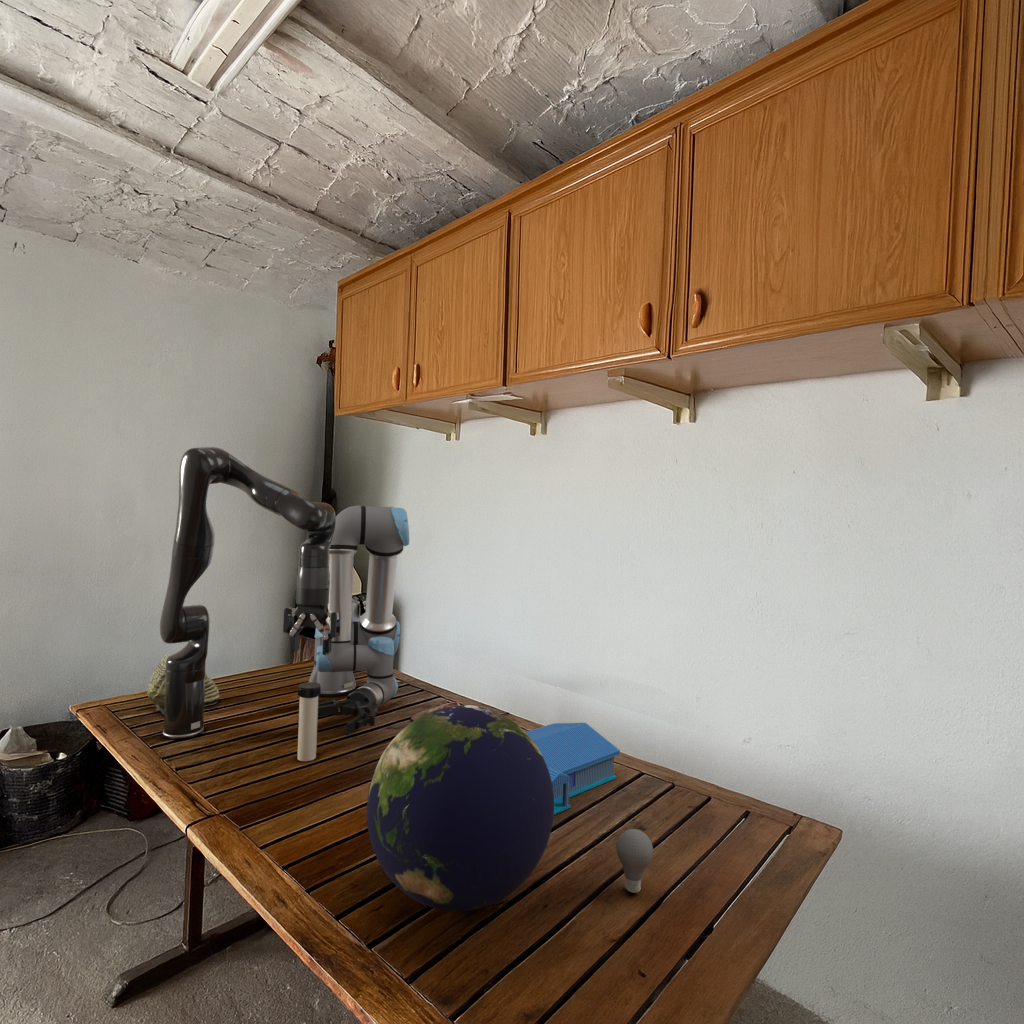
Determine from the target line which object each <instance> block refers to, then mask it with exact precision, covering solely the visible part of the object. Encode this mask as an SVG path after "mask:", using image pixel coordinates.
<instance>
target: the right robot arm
mask: <svg viewBox="0 0 1024 1024" xmlns="http://www.w3.org/2000/svg"><path fill="white" fill-rule="evenodd" d="M409 527H410V526H409V518H408V513H407V511H406V509H405V508H404V507H395V506H373V505H372V506H371V505H351V506H348V507H346V508H345V509H343V510H341V511H340V512H339V513H338V514H337V515H336V526H335V531H334V535H333V539H332V543H331V546H330V555H329V556H330V559H329V572H330V587H329V604H328V610H329V612H336V611H340V613H341V619H340V635H339V636H336V637H334V638H332V650H331V652H329V654H327V655H323V654H322V650H323V640H324V637H323V636H322V634H321V632H319V631H318V629H317V628H315V633H314V638H315V639H314V657H313V659H314V661H313V662H314V663H313V668H312V670H311V674H310V676H309V679H308V682H316V683H319V684H320V685H321V686H320V687H321V693H320V695H319V697H334V698H331V699H329V700H325V701H320V702H318V718H320V717H325V716H326V717H327V716H333V715H334V716H343V715H345V716H348V715H349V716H352V717H354V718H353V719H352V720H350V721H348V722H347V723H346V725H345V726H346V727H345V728H346V729H345V730H346V731H345V735H346V736H347V735H348V736H350V735H351V734H353V733H354V732H355V731H356V730H359V729H361V728H363V727H367V726H368V725H369V726H370V727H375V725H376V716H377V715H378V708H379V707H381V706H382V705H384V704H386V703H388V702H389V701H390V700H392V698H393V697H395V696H396V694H397V693H398V690H399V683H398V681H397V678H395V676H394V661H395V654H396V652H397V650H398V647H399V643H400V635H401V625H400V622H399V620H397V618H396V616H395V615H394V614H393V610H394V598H395V587H396V577H397V567H398V556H400V554H401V555H402V553H403V551H404V547H406V546H407V547H408V546H409V545H410V529H409ZM358 545H361V546H362V545H363V546H364V548H365V551H366V552H367V553H368V554H369V560H368V571H367V585H366V586H367V587H366V600H365V612H364V613H362V614H361V615H360V618H359V621H358V620H357V621H354V619H353V617H352V611H353V610H352V607H353V579H354V555H355V554H356V553H358ZM326 620H327V622H328V624H329V625H330V630H331V621H330V620H329V616H328V618H327V619H326ZM322 626H323V624H322ZM354 672H367V673H366V676H367V677H366V679H367V680H366V683H365V684H363V685H361V686H359V687H358V688H357V683H356V679H355V674H354ZM344 695H345V696H346V695H347V696H346V698H345V699H343V700H338V701H337V698H335V697H338V696H344ZM368 715H369V716H368ZM298 725H299V715H297V726H298Z"/></svg>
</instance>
